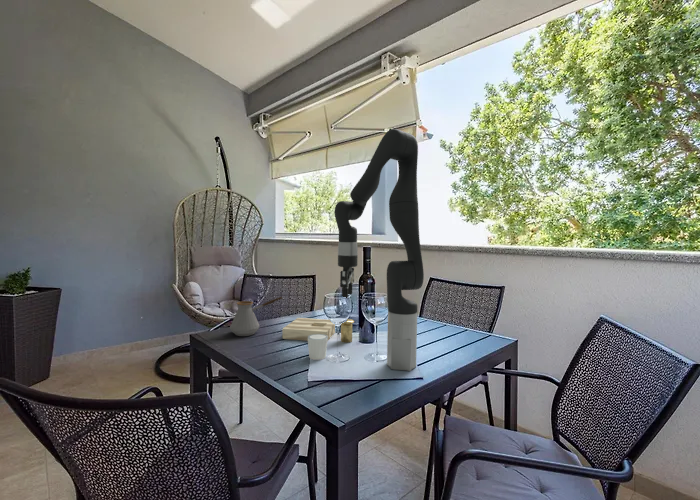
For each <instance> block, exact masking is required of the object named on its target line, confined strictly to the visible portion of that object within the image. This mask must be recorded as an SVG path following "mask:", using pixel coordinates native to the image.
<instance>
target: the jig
mask: <svg viewBox="0 0 700 500" xmlns="http://www.w3.org/2000/svg"><path fill="white" fill-rule="evenodd" d="M330 320H331V319H323V318H311V317H310V318H306V317H296V318H295V319H294V320H293V321H291V322H290V323H288V324H287V325H286V326H284V327H283V328H282V339H284V340H295V341H305V342H306V341H307V342H308V336H309V335H312V334H324V335H327V336H328V341H329V340H330V339H331V338H332V337H331V336H332V335H333V336H334V334H335V333H336V332H335V324H333V323H332V322H331V321H330ZM330 337H331V338H330Z"/></svg>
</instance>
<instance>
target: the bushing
mask: <svg viewBox="0 0 700 500" xmlns="http://www.w3.org/2000/svg"><path fill="white" fill-rule="evenodd" d="M346 319H347V321H346V322H344V323H342V324H341V323H340V342H341V343H345V344H347V343H348V344H349V343H352V342H353V323H355V320H354V319H351V318H346Z"/></svg>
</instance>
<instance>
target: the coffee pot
mask: <svg viewBox="0 0 700 500" xmlns="http://www.w3.org/2000/svg"><path fill="white" fill-rule="evenodd" d="M279 300H282V302H284V298H283V296H278V297H276V298H274V299H271V300H269V301H267V302H264V303H262V304H261V305H258V306H255V307H252V305H253V304H254V301H251V300H250V301H249V300H242V301H241V300H240V301H238V302H236V305H237V307H238V308H237V310H236V312H235V315H234V318H233V319H232V322H231V325H230V327H229V329H230V331H231V332H232V333H233V334H234V335H235V336H237V337H238V336H239V337H248V336H252V335H254V334H256V332H257V331H258V330H259V328H260V324H259V321H258V319H257V317H256V314H255V313H254V311H256V310H258V309H260V308H263V307H265V306H268V305H271V304H273V303H275V302H276V301H278V302H279Z"/></svg>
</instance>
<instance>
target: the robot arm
mask: <svg viewBox="0 0 700 500" xmlns="http://www.w3.org/2000/svg"><path fill="white" fill-rule="evenodd" d="M418 156H419V145H418V140H417V138H416V137H415V135H413V134H411V133H410V132H409V133H408V132H406V131H403V130H400V129H399V128H398V129H397V128H391V129H388V130H387V132H385V134H384V135H383V136H382V138H381V140H380V141H379V143H378V146H377V147H376V148H375V151H374V154H373V155H372V157H371V159H370V160H369V161H370V162H369V163H368V166H367V168H366V169H365V170H364V172H363V173H362V176H361V177H360V178H359V180H357V183H356V184H355V185H354V186H353V188H352V190H350V196H349V197H350V198H351V200H352V201H349V200H347V201H346V200H341V201H338V202H337V203H336V204H335V207H334V217H335V220H336V221H335V222H336V226H337V230H338V246H337V266H338V267H339V268H340V267H341V268H342V270H340V276H339V277H340V279H339V281H340V283H339V287H340V288H341V297H342V296H343V297H346V298H345V299H348V298H349V295H352V294H353V285H354V282H355V268H356V267H358V260H359V258H358V255H359V254H358V250H359V249H358V229H357V227H355V226H352V225H351V223H350V221H357V220H359V218H361V217H362V216H363V213H364V211H365V208H366V206H367V203H368V201H370V199H371V198H372V196H373V195H374V194H375V193H376V191H377V189H378V188H379V185H380V180H381V173H382V170H383V168H384V166H385V165H386V164H387V163H388V162H389V161H390V160H394V161H397V165H398V177H397V180H396V183H395V186H394V188H393V189H392V191H391V193H390V196H389V200H388V209H389V221H390V224H391V225H392V227H393V229H394V231H395V232H396V234H397V235H398V236H399V238H400V240H401V241H402V243H403V245H404V248H405V251H406V258H407V260H391V261H390V262H389V263H388V264H387V267H386V295H387V296H386V297H387V299H386V301H387V335H386V336H387V338H386V339H387V340H386V343H387V344H386V365H387V366H388V367H389V368H390V370H396V371H408V372H409V371H410V372H411V371H412V370H413V369H415V368H416V367H417V347H418V346H417V343H418V342H417V341H418V340H417V338H418V303H417V302H415V301H414V300H411V299H408V298H405V297H404V296H403V293H402V291H414V290H415V291H416V290H419V289H421V288H422V287H423V283H424V279H425V277H424V275H425V273H424V263H423V255H422V249H421V240H420V228H419V227H420V225H419V224H420V223H419V219H420V218H419V212H420V211H419V202H418V201H419V199H418V161H419V160H418V159H419V158H418Z"/></svg>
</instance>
